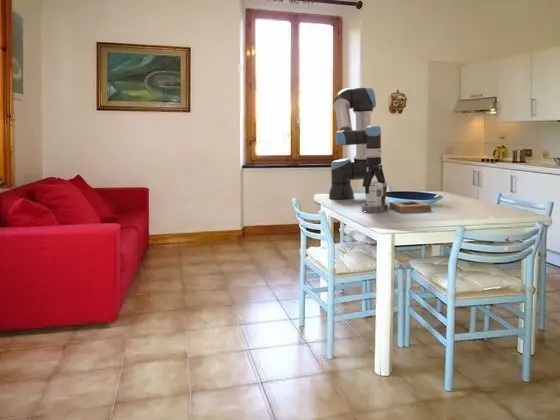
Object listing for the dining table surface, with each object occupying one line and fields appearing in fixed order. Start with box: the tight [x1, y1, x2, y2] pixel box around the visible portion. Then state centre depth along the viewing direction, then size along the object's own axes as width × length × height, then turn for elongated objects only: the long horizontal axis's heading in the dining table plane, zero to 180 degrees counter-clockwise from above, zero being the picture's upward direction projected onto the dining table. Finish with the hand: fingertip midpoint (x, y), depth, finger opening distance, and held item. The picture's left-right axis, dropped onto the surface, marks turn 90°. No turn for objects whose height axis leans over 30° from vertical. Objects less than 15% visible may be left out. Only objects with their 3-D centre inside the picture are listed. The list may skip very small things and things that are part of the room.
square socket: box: [389, 200, 432, 214], centre depth 265 cm, size 16×16×3 cm
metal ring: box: [361, 202, 388, 213], centre depth 267 cm, size 13×13×3 cm
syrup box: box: [366, 181, 382, 207], centre depth 266 cm, size 6×6×14 cm
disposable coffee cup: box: [371, 180, 389, 203], centre depth 285 cm, size 10×10×12 cm
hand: (374, 197), depth 266 cm, fingers open, 13 cm apart
